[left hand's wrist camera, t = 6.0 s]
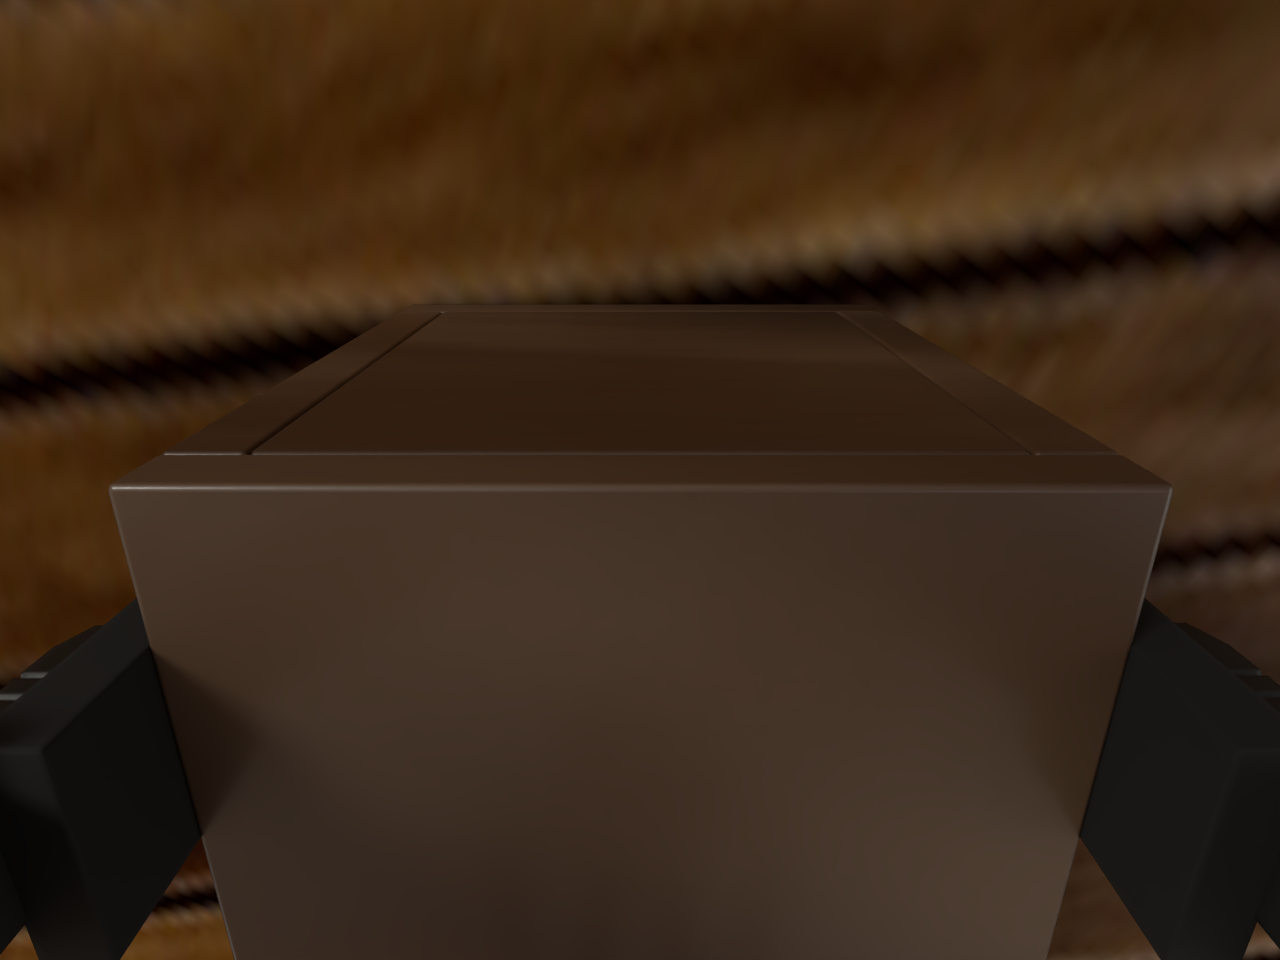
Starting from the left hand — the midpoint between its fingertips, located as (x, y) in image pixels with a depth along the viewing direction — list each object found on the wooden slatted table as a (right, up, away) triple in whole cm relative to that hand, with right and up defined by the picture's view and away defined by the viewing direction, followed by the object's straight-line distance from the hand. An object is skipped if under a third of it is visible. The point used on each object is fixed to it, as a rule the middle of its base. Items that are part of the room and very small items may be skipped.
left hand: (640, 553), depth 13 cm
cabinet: (0, -2, +8) cm, 8 cm away
